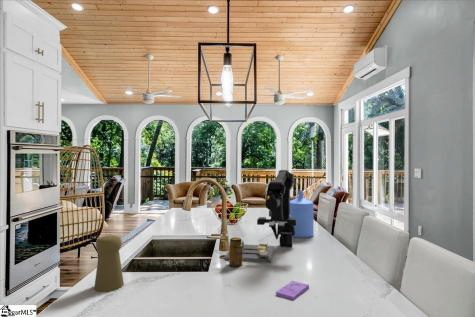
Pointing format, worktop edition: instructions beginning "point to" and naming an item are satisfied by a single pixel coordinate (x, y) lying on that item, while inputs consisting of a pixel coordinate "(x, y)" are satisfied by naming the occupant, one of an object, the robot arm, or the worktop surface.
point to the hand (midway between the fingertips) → (276, 238)
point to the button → (263, 253)
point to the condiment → (235, 254)
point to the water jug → (302, 216)
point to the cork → (108, 264)
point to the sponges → (292, 290)
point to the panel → (254, 254)
